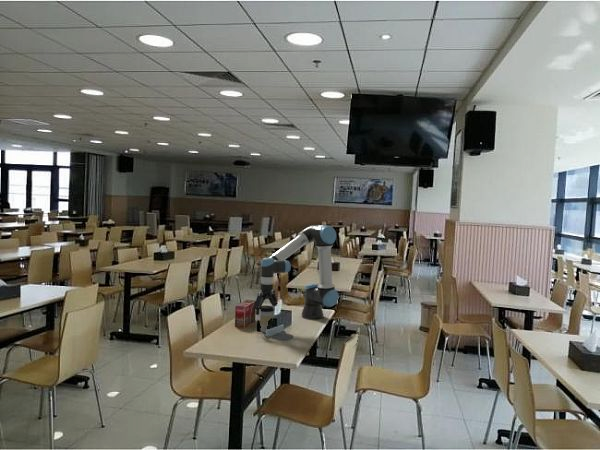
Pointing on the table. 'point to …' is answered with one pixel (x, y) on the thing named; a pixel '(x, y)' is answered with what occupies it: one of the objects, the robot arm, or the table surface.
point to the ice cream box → (245, 313)
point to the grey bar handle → (274, 330)
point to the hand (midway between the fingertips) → (265, 318)
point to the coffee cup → (265, 317)
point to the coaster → (283, 336)
